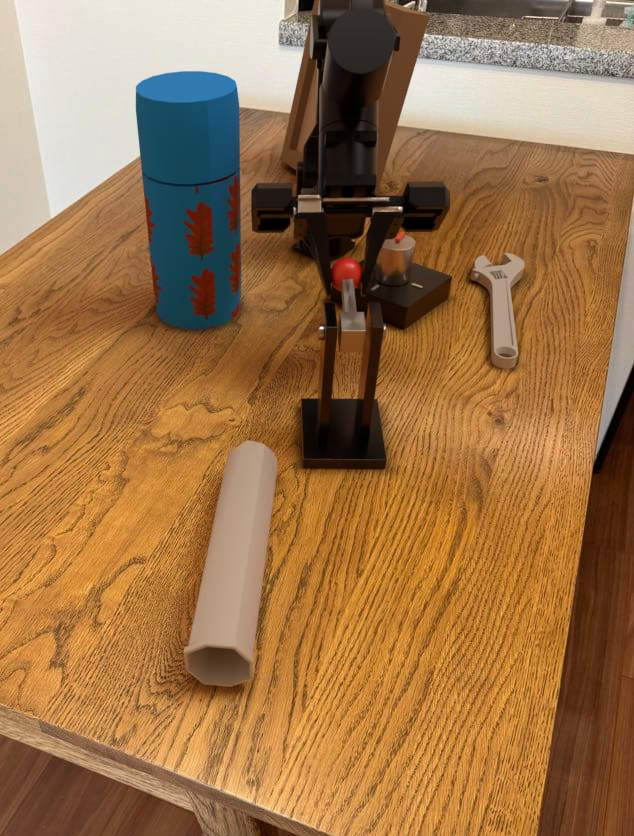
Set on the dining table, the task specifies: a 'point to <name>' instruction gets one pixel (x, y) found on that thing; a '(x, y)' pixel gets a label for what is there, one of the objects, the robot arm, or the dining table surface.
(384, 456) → the lever stand
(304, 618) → the dining table surface
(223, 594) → the tube
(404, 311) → the dial base
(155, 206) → the thermos
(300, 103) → the photo frame
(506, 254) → the adjustable wrench
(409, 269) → the dial knob
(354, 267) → the lever
